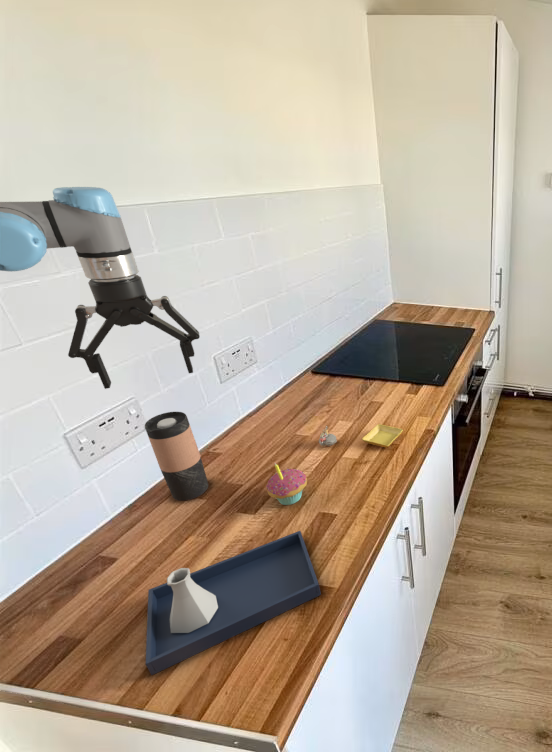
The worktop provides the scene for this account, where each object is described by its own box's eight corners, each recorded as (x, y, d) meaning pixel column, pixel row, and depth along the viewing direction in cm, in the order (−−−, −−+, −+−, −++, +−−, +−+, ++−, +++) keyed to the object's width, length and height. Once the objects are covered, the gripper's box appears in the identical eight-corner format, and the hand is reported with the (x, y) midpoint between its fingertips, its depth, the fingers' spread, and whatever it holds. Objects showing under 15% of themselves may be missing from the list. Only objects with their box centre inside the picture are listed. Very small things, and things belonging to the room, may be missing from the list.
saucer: (361, 445, 123) (360, 439, 122) (378, 429, 130) (378, 423, 129) (388, 451, 120) (387, 445, 120) (404, 435, 128) (403, 429, 127)
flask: (176, 602, 78) (159, 563, 73) (222, 591, 80) (209, 553, 76) (163, 640, 72) (143, 601, 67) (213, 627, 74) (198, 588, 70)
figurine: (340, 443, 123) (338, 425, 120) (328, 451, 119) (325, 433, 117) (326, 437, 125) (323, 420, 122) (314, 446, 121) (311, 428, 119)
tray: (151, 675, 67) (145, 664, 66) (153, 600, 78) (148, 589, 77) (321, 594, 81) (318, 584, 80) (302, 540, 92) (300, 530, 91)
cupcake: (295, 513, 98) (286, 472, 93) (261, 508, 99) (250, 466, 94) (316, 488, 106) (309, 448, 101) (285, 483, 107) (275, 443, 102)
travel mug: (213, 477, 108) (191, 408, 99) (205, 497, 101) (181, 426, 93) (176, 483, 105) (150, 414, 96) (166, 505, 99) (138, 432, 90)
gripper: (12, 290, 71) (65, 401, 80) (195, 274, 84) (222, 371, 93) (24, 279, 76) (72, 384, 86) (194, 266, 89) (220, 358, 99)
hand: (151, 378), depth 90 cm, fingers open, 13 cm apart
